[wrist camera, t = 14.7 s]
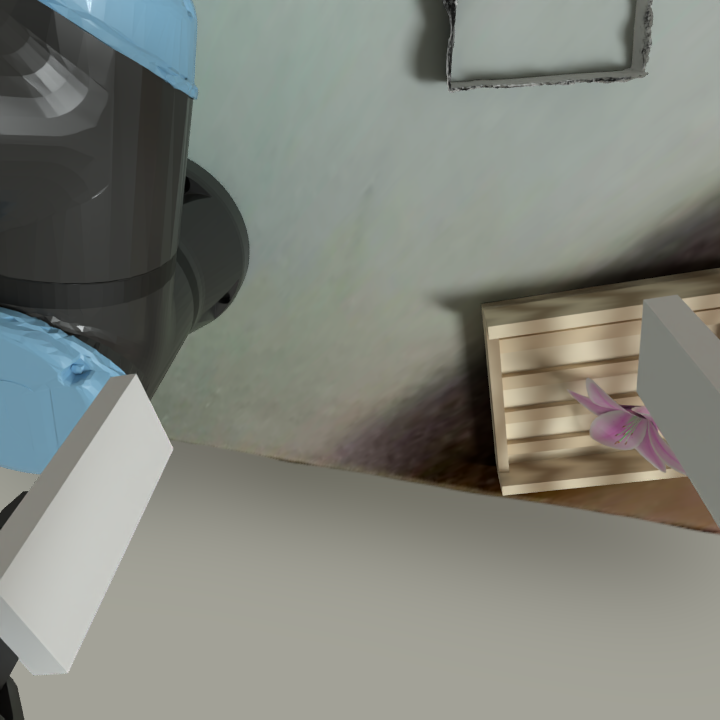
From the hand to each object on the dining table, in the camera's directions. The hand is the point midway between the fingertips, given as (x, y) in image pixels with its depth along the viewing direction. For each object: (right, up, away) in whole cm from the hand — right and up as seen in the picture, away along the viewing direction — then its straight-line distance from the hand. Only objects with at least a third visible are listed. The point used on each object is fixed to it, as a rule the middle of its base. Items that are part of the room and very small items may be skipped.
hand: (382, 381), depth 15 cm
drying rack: (+22, -1, +37) cm, 43 cm away
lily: (+22, -2, +37) cm, 43 cm away
